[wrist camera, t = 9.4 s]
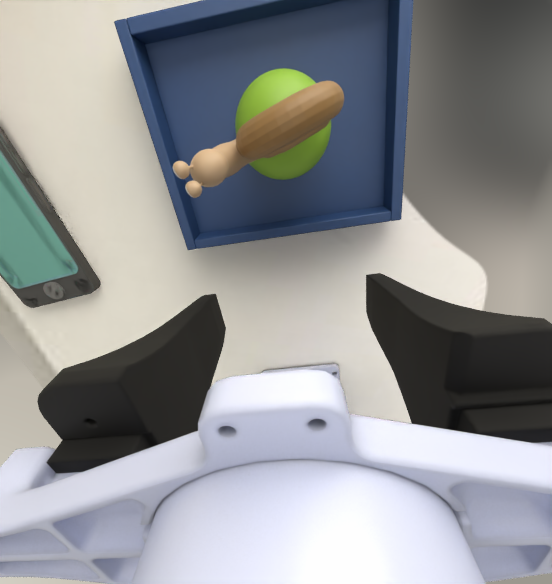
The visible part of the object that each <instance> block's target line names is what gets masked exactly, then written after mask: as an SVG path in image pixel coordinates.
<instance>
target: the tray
mask: <svg viewBox="0 0 552 584" xmlns="http://www.w3.org/2000/svg"><path fill="white" fill-rule="evenodd" d="M412 14H413V0H202V1H198V2H194V3H189V4H185V5H181V6H177V7H172V8H168V9H164V10H160V11H155V12H151V13H147V14H143V15H138V16H134V17H130V18H127V20H126V19H121V20H117V21H115V22H114V23H115V26H116V29H117V33H118V36H119V39H120V42H121V45H122V48H123V51H124V54H125V57H126V60H127V63H128V67H129V70H130V73H131V76H132V79H133V82H134V85H135V88H136V91H137V94H138V97H139V101H140V104H141V107H142V110H143V113H144V116H145V119H146V122H147V125H148V128H149V131H150V135H151V138H152V141H153V144H154V147H155V150H156V153H157V156H158V159H159V162H160V165H161V169H162V172H163V175H164V178H165V181H166V184H167V187H168V190H169V193H170V196H171V199H172V203H173V206H174V209H175V212H176V215H177V218H178V221H179V224H180V227H181V230H182V233H183V237H184V240H185V243H186V246H187V249H188V250H193V249H199V248H206V247H213V246H220V245H227V244H234V243H241V242H248V241H255V240H262V239H269V238H276V237H283V236H290V235H297V234H304V233H311V232H318V231H324V230H331V229H338V228H345V227H352V226H359V225H366V224H373V223H380V222H387V221H390V220H391V221H394V220H400V219H401V213H402V194H403V176H404V157H405V140H406V122H407V103H408V85H409V68H410V50H411V32H412ZM282 68H286V69H293V70H297V71H299V72H302V73H304V74H306V75H307V76H309V77H310V78H311V79H312V80H314V81H315V82H316V83H319V82H322V81H333V82H335V83H337V84H338V85H339V86H340V87H341V89H342V90H343V93H344V104H343V107H342V109H341V111H340V113H339V114H338V115H337V116H335V117H334V118H333V119H331V133H330V138H329V142H328V145H327V147H326V150H325V152H324V154H323V155H322V157H321V159H320V160H319V161H318V162H317V164H316V165H315V166H314V167H313V168H312V169H310V170H309V171H308V172H306V173H305V174H303V175H301V176H299V177H296V178H293V179H287V180H279V179H273V178H269V177H267V176H264V175H262V174H261V173H259V172H258V171H256V170H255V169H254V168H253V167H252V166H251V165H250V164H247V165H245V166H244V167H242V168H241V169H240V170H239V171H238V172H236V173H235V174H233V175H232V176H229V177H227V178H225V179H224V181H223V182H222V183H220V184H219V185H217V186H214V187H204V186H201V187H202V193H201V195H200V196H199V197H197V198H193V197H191V196H190V195H189V194H188V193H187V191H186V189H185V186H186V184H187V182H189V181H194V180H193V178H192V176H191V173H190V174H189V176H188V177H187V178H185V179H180V178H178V177H177V176H176V175H175V173H174V171H173V164H174V163H175V162H177V161H183V162H185V163H187V164H188V166H190V164H191V161H192V159H193V157H194V156H195V155H196V154H197V153H198V152H200V151H201V150H204V149H212V148H214V147H216V146H218V145H220V144H223V143H227V142H230V141H233V140H235V139H236V130H235V119H236V112H237V108H238V105H239V102H240V99H241V97H242V95H243V94H244V92H245V90H246V89H247V88H248V86H249V85H250V84H251V83H252V82H253V81H254V80H255V79H256V78H258V77H259V76H260V75H262V74H264V73H266V72H268V71H271V70H275V69H282Z"/></svg>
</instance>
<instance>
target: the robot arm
mask: <svg viewBox="0 0 552 584" xmlns="http://www.w3.org/2000/svg"><path fill="white" fill-rule="evenodd" d="M366 312H367V316H368V319H369V322H370V325H371V328H372V330H373V332H374V334H375V336H376V338H377V340H378V342H379V344H380V346H381V348H382V350H383V352H384V354H385V356H386V358H387V359H388V361H389V363H390V365H391V368H392V370H393V372H394V374H395V377H396V380H397V382H398V385H399V388H400V390H401V393H402V396H403V399H404V401H405V404H406V407H407V410H408V413H409V416H410V419H411V422H412V424H411V423H405V422H398V421H392V420H386V419H380V418H373V417H367V416H361V415H355V414H350V413H349V411H348V406H347V402H346V398H345V393H344V390H343V388H342V386H341V383H340V376H339V367H338V365H336V364H328V365H317V366H307V367H297V368H287V369H276V370H266V371H263V372H262V373H261V374H251V375H240V376H231V377H228V378H225V379H222V380H219V381H216V382H215V383H214V384H213V386H212V387H211V388H210V386H211V382H212V379H213V376H214V373H215V370H216V367H217V364H218V360H219V357H220V354H221V351H222V347H223V343H224V337H225V330H226V327H225V324H224V321H223V317H222V314H221V310H220V307H219V304H218V300H217V297H216V294H211V295H204V296H202V297H200V298H199V299H197V300H196V301H195V302H193V303H192V304H191V305H189V306H188V307H187V308H185V309H184V310H183V311H181V312H180V313H179V314H178V315H176V316H175V317H173V318H172V319H171V320H169V321H168V322H166V323H165V324H164V325H162V326H161V327H159V328H158V329H156V330H154V331H153V332H151V333H149V334H148V335H146V336H144V337H142V338H140V339H138V340H136V341H134V342H132V343H130V344H128V345H126V346H124V347H122V348H120V349H118V350H115V351H113V352H111V353H108V354H106V355H103V356H101V357H98V358H95V359H92V360H89V361H86V362H83V363H80V364H77V365H74V366H71V367H68V368H64V369H63V370H61V372H60V373H59V374H58V375H57V376H56V377H55V378H54V379H53V380H52V381H51V382H50V383H49V384H48V385H47V386H46V387H45V388H44V389H43V390H42V392H41V393H40V394H39V397H38V405H39V410H40V412H41V413H42V415H43V417H44V418H45V419H46V420H47V422H48V423H49V424H50V425H51V427H52V428H53V429H54V430H55V431H56V432H57V434H58V435H59V436H60V438H61V439H62V442H61V444H60V445H59V446H58V447H57V449H56V450H55V449H54V448H51V447H45V446H43V447H31V448H19V449H16V450H15V451H14V452H13V453H12V454H11V455H10V457H9V458H8V459H7V460H6V462H4V464H3V465H2V466H1V467H0V577H41V578H59V579H69V580H80V581H89V582H99V583H108V584H486V583H485V582H492V581H499V580H506V579H512V578H520V577H526V576H534V575H540V574H548V573H552V324H551V323H550V322H548V321H547V320H545V319H542V318H533V317H523V316H512V315H504V314H498V313H491V312H486V311H480V310H475V309H471V308H467V307H463V306H458V305H455V304H451V303H448V302H445V301H442V300H439V299H436V298H433V297H430V296H428V295H425V294H423V293H420V292H418V291H416V290H414V289H411V288H409V287H407V286H405V285H403V284H401V283H399V282H397V281H395V280H393V279H391V278H389V277H387V276H385V275H383V274H380V273H378V274H370V275H366ZM333 372H335V373H333Z"/></svg>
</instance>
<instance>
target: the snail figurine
mask: <svg viewBox="0 0 552 584" xmlns="http://www.w3.org/2000/svg"><path fill="white" fill-rule="evenodd" d="M343 104H344V93H343V90H342V89H341V87H340V86H339V85H338V84H337V83H335V82H333V81H322V82H319V83H316V82H315V81H314V80H312V79H311V78H310V77H309V76H307V75H306V74H304V73H302V72H299V71H297V70H293V69H286V68H282V69H275V70H271V71H268V72H266V73H264V74H262V75H260V76H259V77H258V78H256V79H255V80H254V81H253V82H252V83H251V84H250V85H249V86H248V88H247V89H246V90H245V92H244V94H243V95H242V97H241V99H240V102H239V105H238V108H237V112H236V119H235V130H236V139H235V140H233V141H230V142H227V143H223V144H220V145H218V146H216V147H214V148H212V149H204V150H201V151H200V152H198V153H197V154H196V155H195V156H194V157H193V159H192V161H191V164H190V166H188V164H187V163H185V162H183V161H177V162H175V163H174V164H173V171H174V173H175V175H176V176H177V177H178V178H180V179H185V178H187V177H188V176H189V174H190V173H191V176H192V178H193V180H194V181H189V182H187V184H186V186H185V189H186V191H187V193H188V194H189V195H190V196H191V197H193V198H197V197H199V196H200V195H201V193H202V187H201V186H204V187H214V186H217V185H219V184H220V183H222V182H223V181H224V179H225V178H227V177H229V176H232V175H233V174H235V173H236V172H238V171H239V170H240V169H241V168H242V167H244V166H245V165H247V164H250V165H251V166H252V167H253V168H254V169H255V170H256V171H258V172H259V173H261V174H262V175H264V176H267V177H269V178H273V179H279V180H287V179H293V178H296V177H299V176H301V175H303V174H305V173H306V172H308V171H309V170H310V169H312V168H313V167H314V166H315V165H316V164H317V162H318V161H319V160H320V159H321V157H322V155H323V154H324V152H325V150H326V147H327V145H328V142H329V138H330V133H331V119H333V118H334V117H335V116H337V115H338V114H339V113H340V111H341V109H342V107H343Z"/></svg>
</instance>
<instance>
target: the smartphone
mask: <svg viewBox="0 0 552 584" xmlns="http://www.w3.org/2000/svg"><path fill="white" fill-rule="evenodd" d="M0 276H1V277H2V278H3V279H4V280H5V282H6V283H7V284H8V285H9V286H10V288H11V289H12V290H13V291H14V292H15V294H16V295H17V296H18V297H19V298H20V300H21V301H22V302H23V303H24V304H25V305H26V306H28V307H31V308H35V307H39V306H43V305H47V304H51V303H55V302H59V301H63V300H67V299H71V298H75V297H78V296H82V295H86V294H90V293H92V292H93V291H95V290H96V289H97V288H98V287H99V286H100V281H99V279H98V278H97V276H96V274H95V273H94V271H93V270H92V268H91V267H90V265H89V264H88V262H87V261H86V259H85V257H84V256H83V254H82V253H81V251H80V250H79V248H78V247H77V245H76V244H75V242H74V240H73V239H72V237H71V236H70V234H69V233H68V231H67V230H66V228H65V226H64V225H63V223H62V222H61V220H60V219H59V217H58V216H57V214H56V213H55V211H54V209H53V208H52V206H51V205H50V203H49V202H48V200H47V199H46V197H45V196H44V194H43V192H42V191H41V189H40V188H39V186H38V185H37V183H36V182H35V180H34V178H33V177H32V175H31V174H30V172H29V171H28V169H27V168H26V166H25V165H24V163H23V161H22V160H21V158H20V157H19V155H18V154H17V152H16V151H15V149H14V148H13V146H12V144H11V143H10V141H9V140H8V138H7V137H6V135H5V134H4V132H3V130H2V129H1V127H0Z"/></svg>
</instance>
